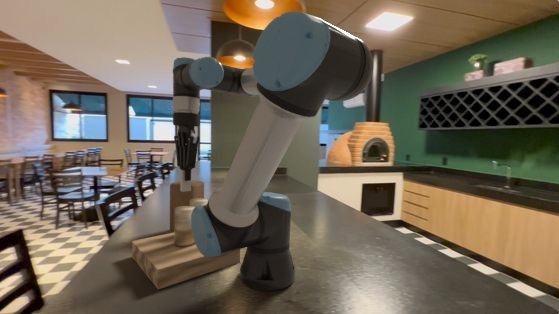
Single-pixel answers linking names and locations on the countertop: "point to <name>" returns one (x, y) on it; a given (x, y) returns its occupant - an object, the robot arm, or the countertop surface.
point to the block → (183, 197)
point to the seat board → (176, 258)
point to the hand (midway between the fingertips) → (185, 190)
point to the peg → (183, 227)
